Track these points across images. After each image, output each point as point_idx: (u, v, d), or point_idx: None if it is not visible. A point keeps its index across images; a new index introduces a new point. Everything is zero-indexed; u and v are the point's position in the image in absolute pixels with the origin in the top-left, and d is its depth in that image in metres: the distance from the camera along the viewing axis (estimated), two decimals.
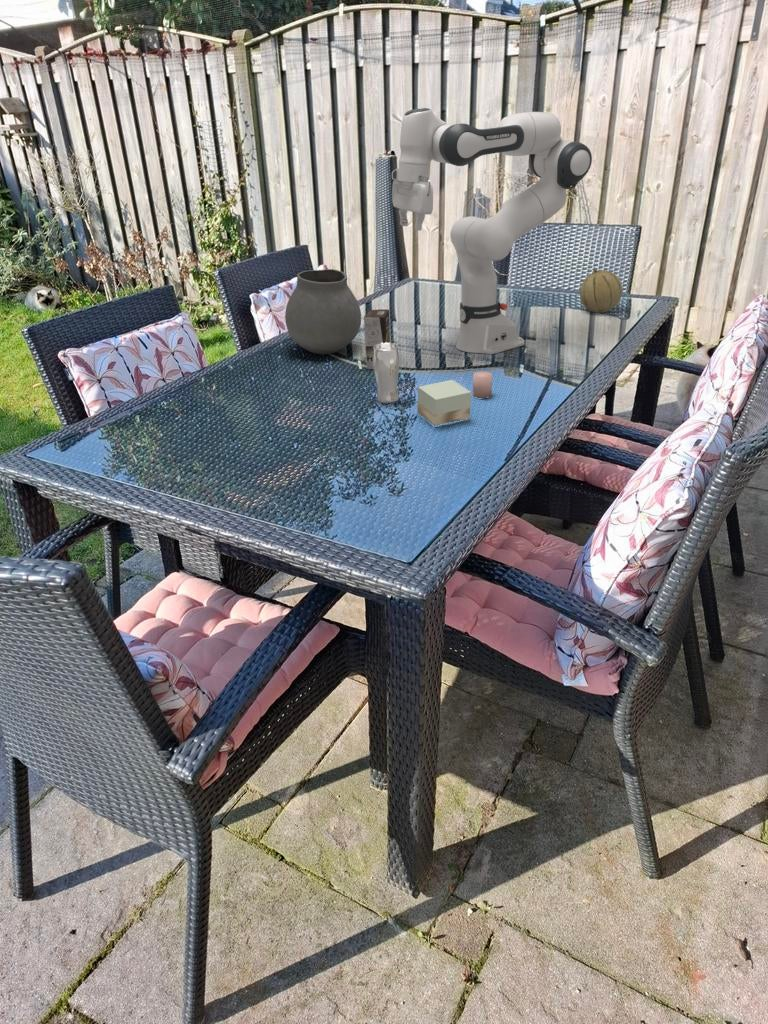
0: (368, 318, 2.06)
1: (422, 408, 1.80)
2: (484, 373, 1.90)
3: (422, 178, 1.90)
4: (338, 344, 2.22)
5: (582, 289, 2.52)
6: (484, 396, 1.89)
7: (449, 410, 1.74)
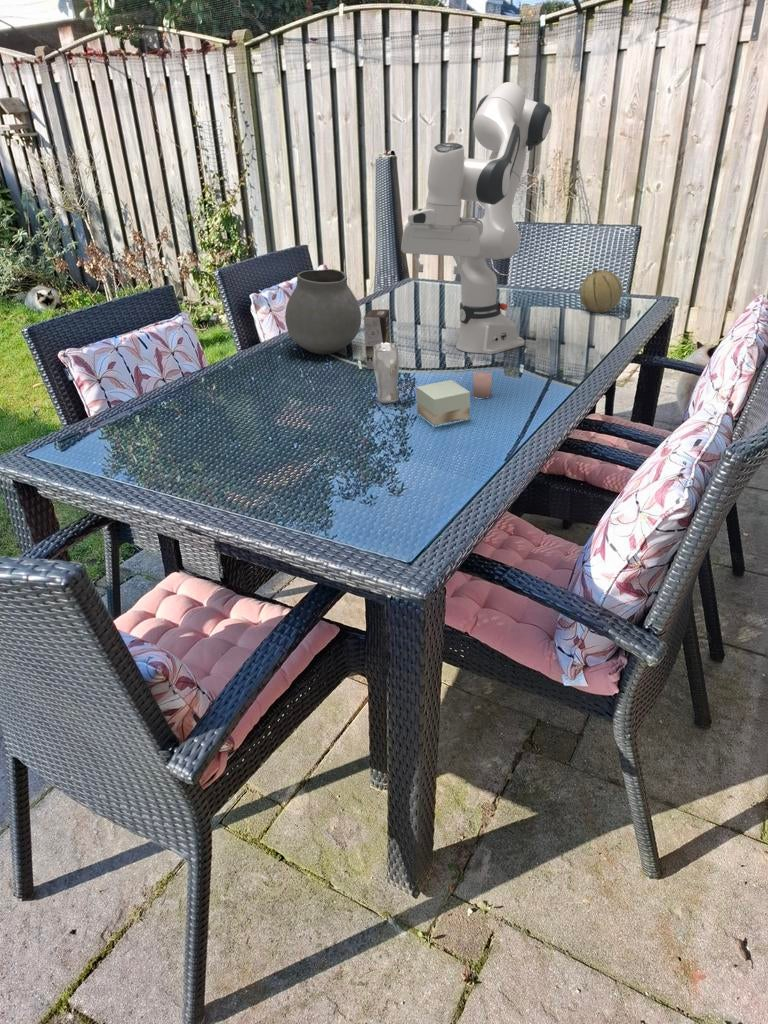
0: (368, 318, 2.06)
1: (421, 408, 1.80)
2: (484, 373, 1.90)
3: (468, 219, 1.75)
4: (338, 344, 2.22)
5: (582, 289, 2.52)
6: (484, 396, 1.89)
7: (448, 410, 1.74)
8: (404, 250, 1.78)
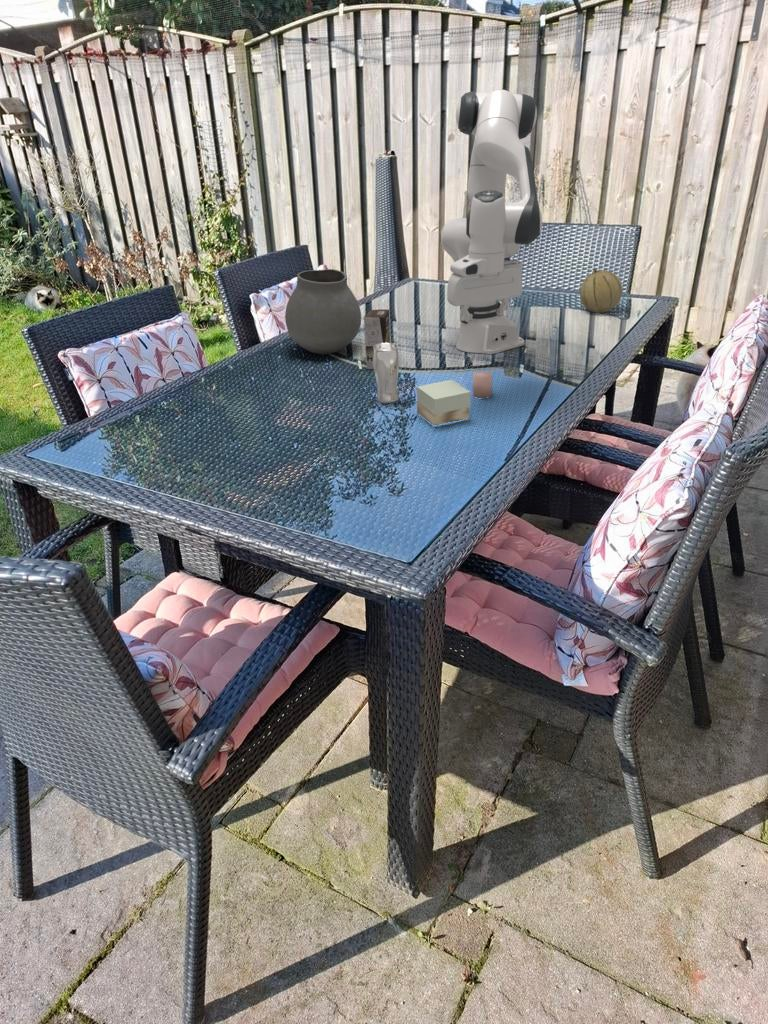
0: (368, 318, 2.06)
1: (421, 408, 1.80)
2: (484, 373, 1.90)
3: (509, 262, 1.76)
4: (338, 344, 2.22)
5: (582, 289, 2.52)
6: (484, 396, 1.89)
7: (448, 410, 1.74)
8: (456, 303, 1.74)
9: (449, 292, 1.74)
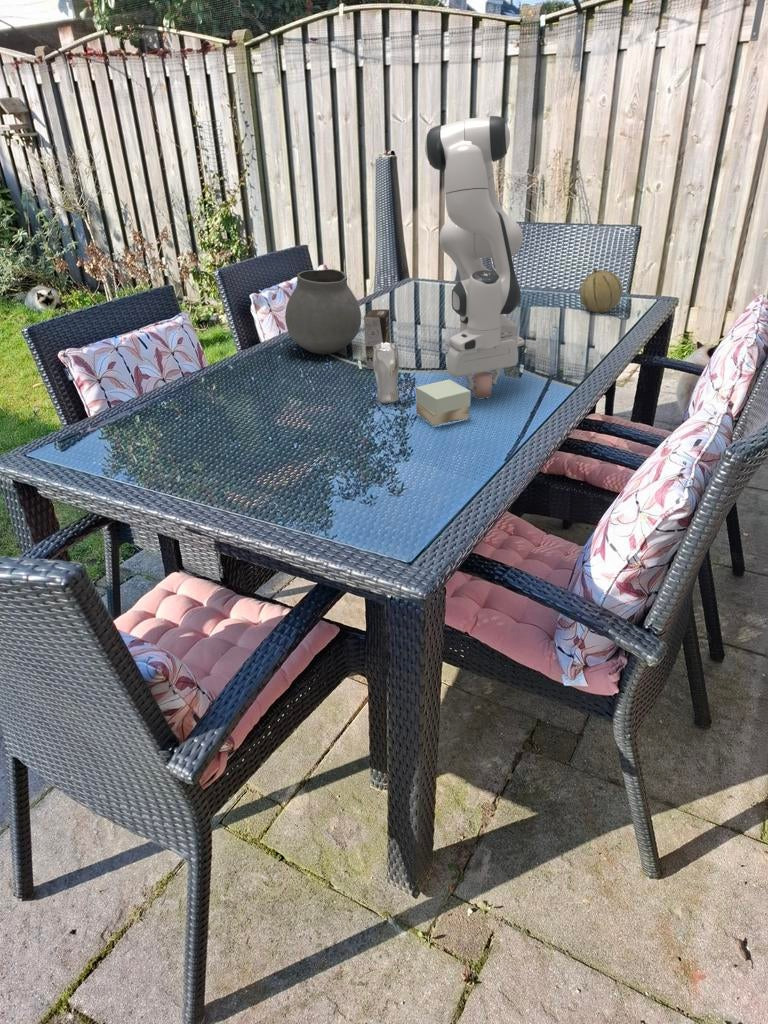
0: (368, 318, 2.06)
1: (421, 408, 1.80)
2: (484, 373, 1.90)
3: (506, 334, 1.85)
4: (338, 344, 2.22)
5: (582, 289, 2.52)
6: (484, 396, 1.89)
7: (449, 409, 1.74)
8: (456, 375, 1.83)
9: (449, 364, 1.84)
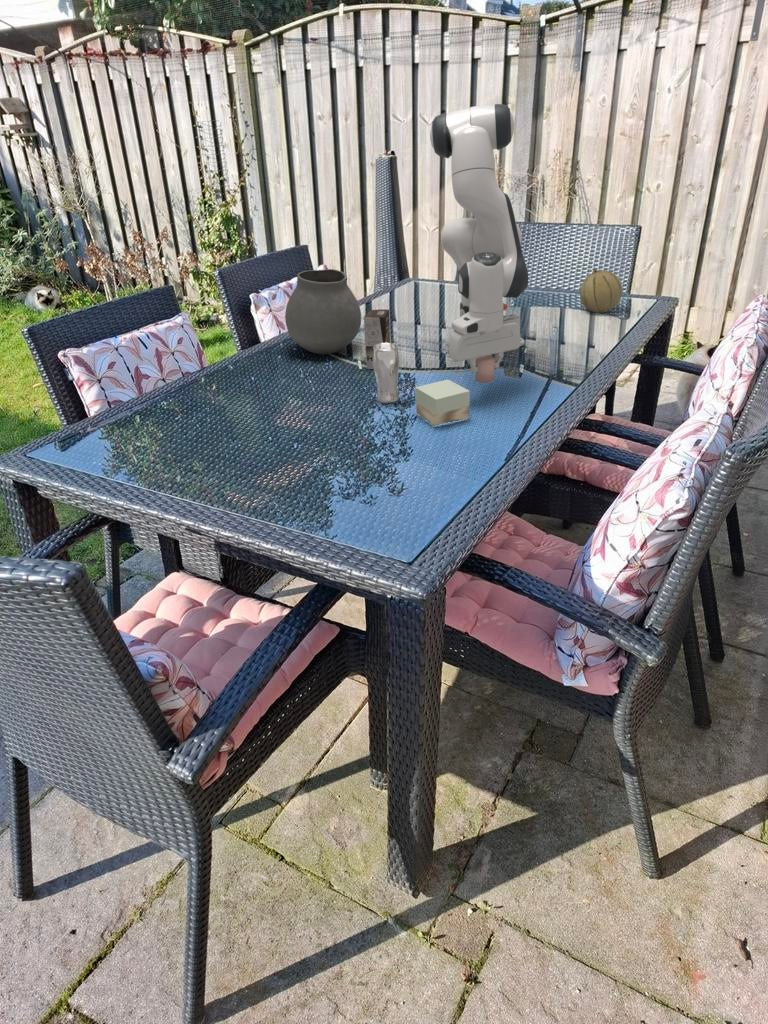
0: (368, 318, 2.06)
1: (421, 408, 1.80)
2: (486, 357, 1.88)
3: (508, 317, 1.83)
4: (338, 344, 2.22)
5: (582, 289, 2.52)
6: (487, 380, 1.88)
7: (449, 409, 1.74)
8: (458, 359, 1.81)
9: (451, 348, 1.82)
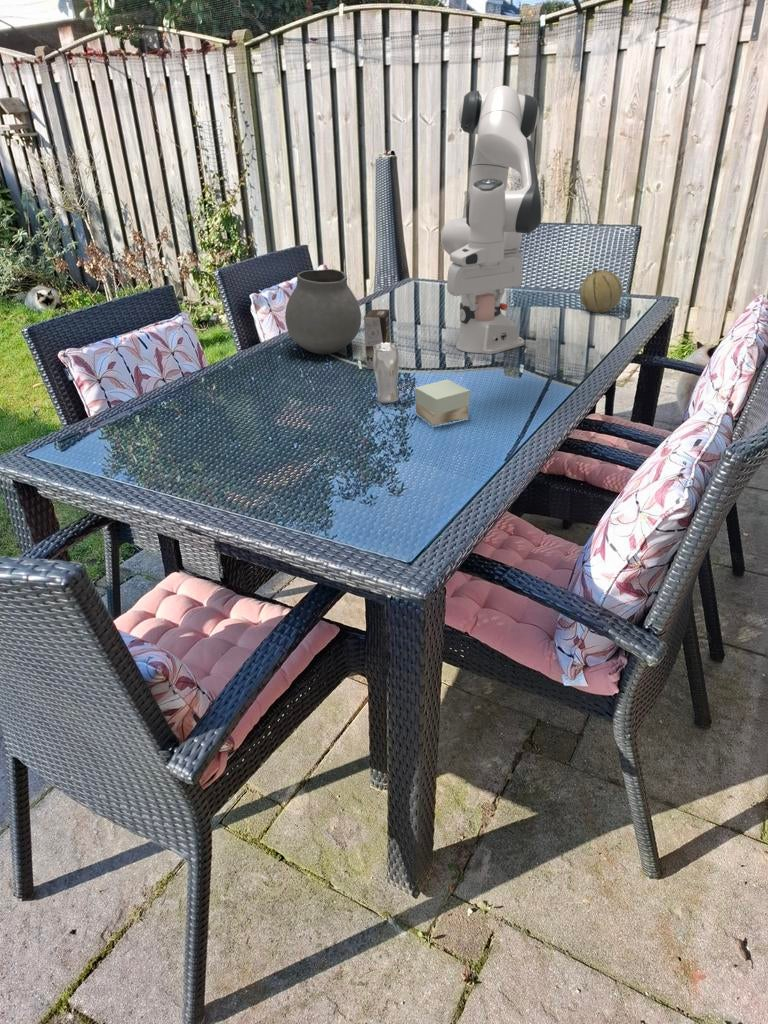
0: (368, 318, 2.06)
1: (420, 408, 1.79)
2: (486, 294, 1.79)
3: (509, 251, 1.74)
4: (338, 344, 2.22)
5: (582, 289, 2.52)
6: (486, 318, 1.79)
7: (449, 409, 1.74)
8: (456, 293, 1.73)
9: (449, 282, 1.73)
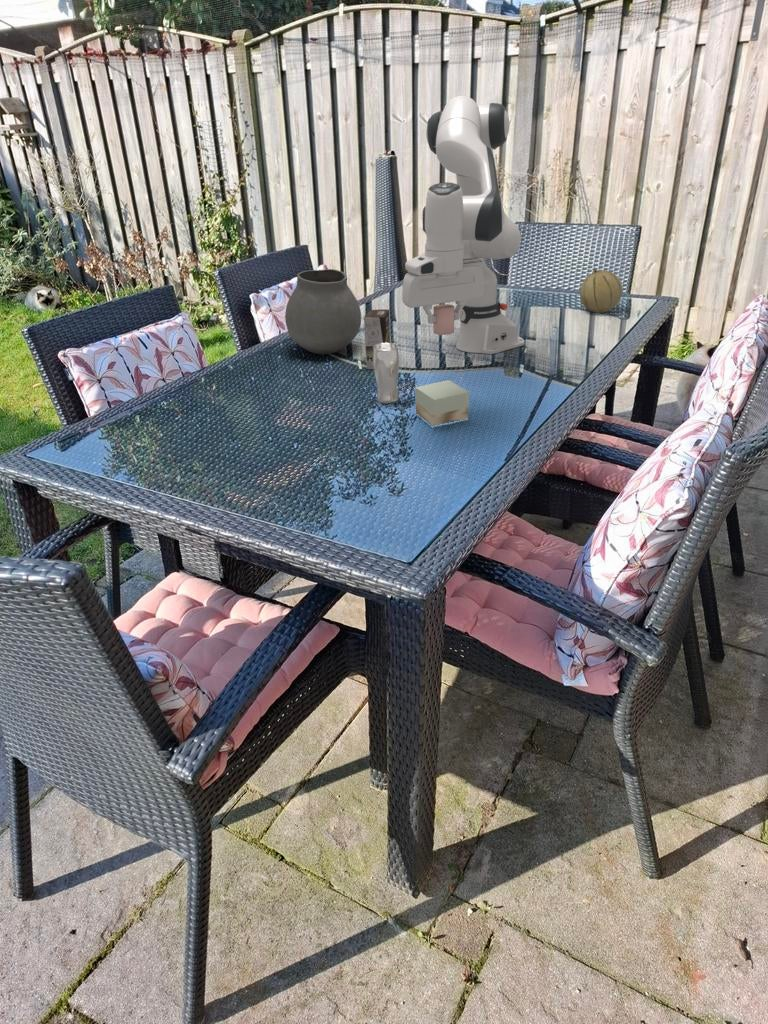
0: (368, 318, 2.06)
1: (420, 409, 1.79)
2: (446, 305, 1.67)
3: (469, 260, 1.63)
4: (338, 344, 2.22)
5: (582, 289, 2.52)
6: (445, 331, 1.67)
7: (448, 410, 1.74)
8: (412, 304, 1.61)
9: (404, 292, 1.61)
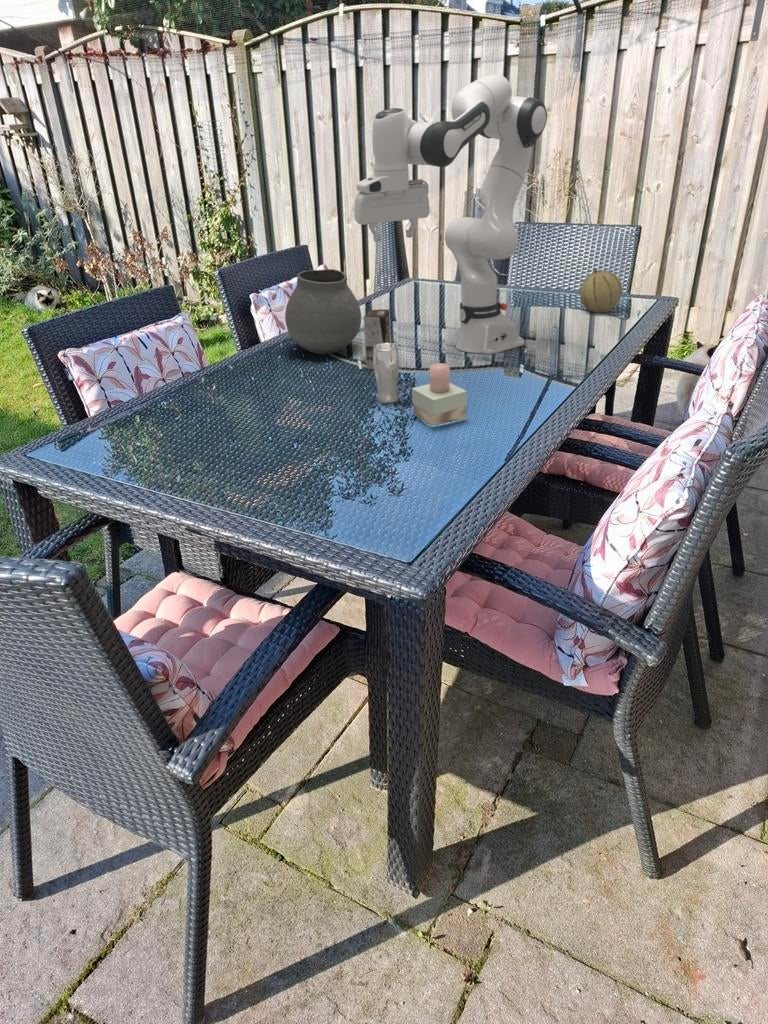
0: (368, 318, 2.06)
1: (418, 408, 1.79)
2: (441, 365, 1.74)
3: (415, 181, 1.80)
4: (338, 344, 2.22)
5: (582, 289, 2.52)
6: (442, 390, 1.74)
7: (446, 410, 1.74)
8: (363, 221, 1.78)
9: (356, 210, 1.79)
